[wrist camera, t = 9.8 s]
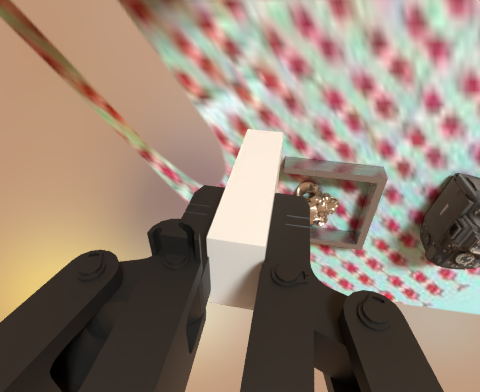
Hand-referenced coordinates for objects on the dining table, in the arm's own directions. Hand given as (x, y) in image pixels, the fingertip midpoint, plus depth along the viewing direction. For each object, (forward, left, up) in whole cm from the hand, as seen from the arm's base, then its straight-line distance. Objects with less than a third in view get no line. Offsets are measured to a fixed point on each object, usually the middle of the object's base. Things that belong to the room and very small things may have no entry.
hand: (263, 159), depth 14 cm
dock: (+23, -8, -29) cm, 38 cm away
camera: (+33, +8, -30) cm, 45 cm away
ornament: (+23, -9, -30) cm, 39 cm away
